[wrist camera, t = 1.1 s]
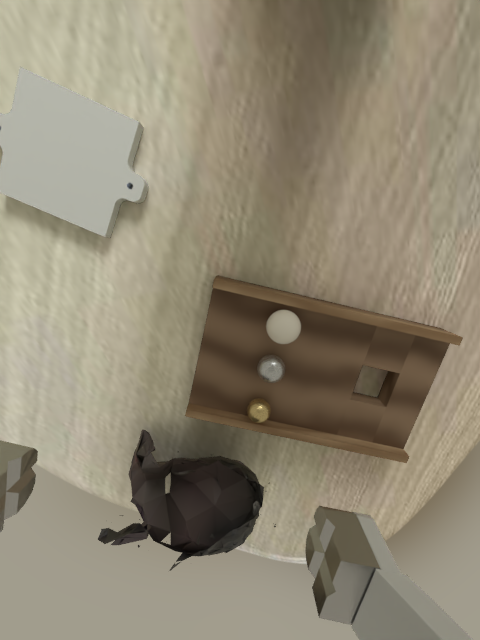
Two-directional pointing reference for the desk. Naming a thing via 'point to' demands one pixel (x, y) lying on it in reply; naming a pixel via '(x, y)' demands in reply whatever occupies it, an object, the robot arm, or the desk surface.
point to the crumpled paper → (190, 503)
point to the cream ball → (283, 326)
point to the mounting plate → (69, 154)
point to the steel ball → (271, 368)
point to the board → (315, 370)
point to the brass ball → (259, 410)
